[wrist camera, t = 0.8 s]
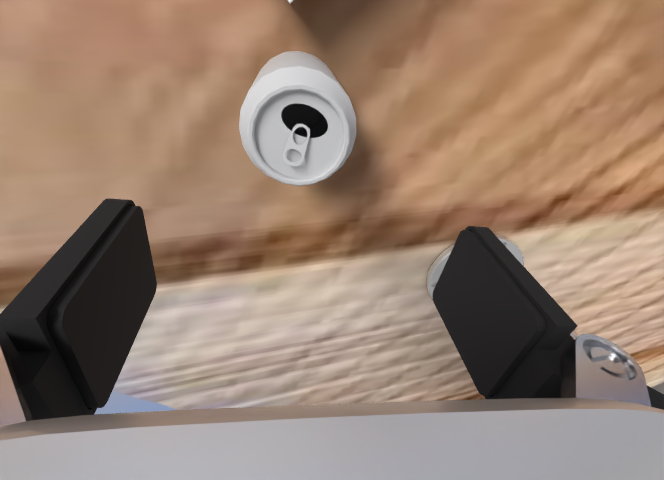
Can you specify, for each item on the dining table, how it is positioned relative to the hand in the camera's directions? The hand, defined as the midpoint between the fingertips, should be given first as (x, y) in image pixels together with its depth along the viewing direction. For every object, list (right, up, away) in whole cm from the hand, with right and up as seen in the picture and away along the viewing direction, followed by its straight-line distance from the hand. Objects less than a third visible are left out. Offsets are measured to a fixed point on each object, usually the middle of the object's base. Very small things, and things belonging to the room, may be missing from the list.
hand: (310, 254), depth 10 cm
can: (-3, +13, +20) cm, 24 cm away
